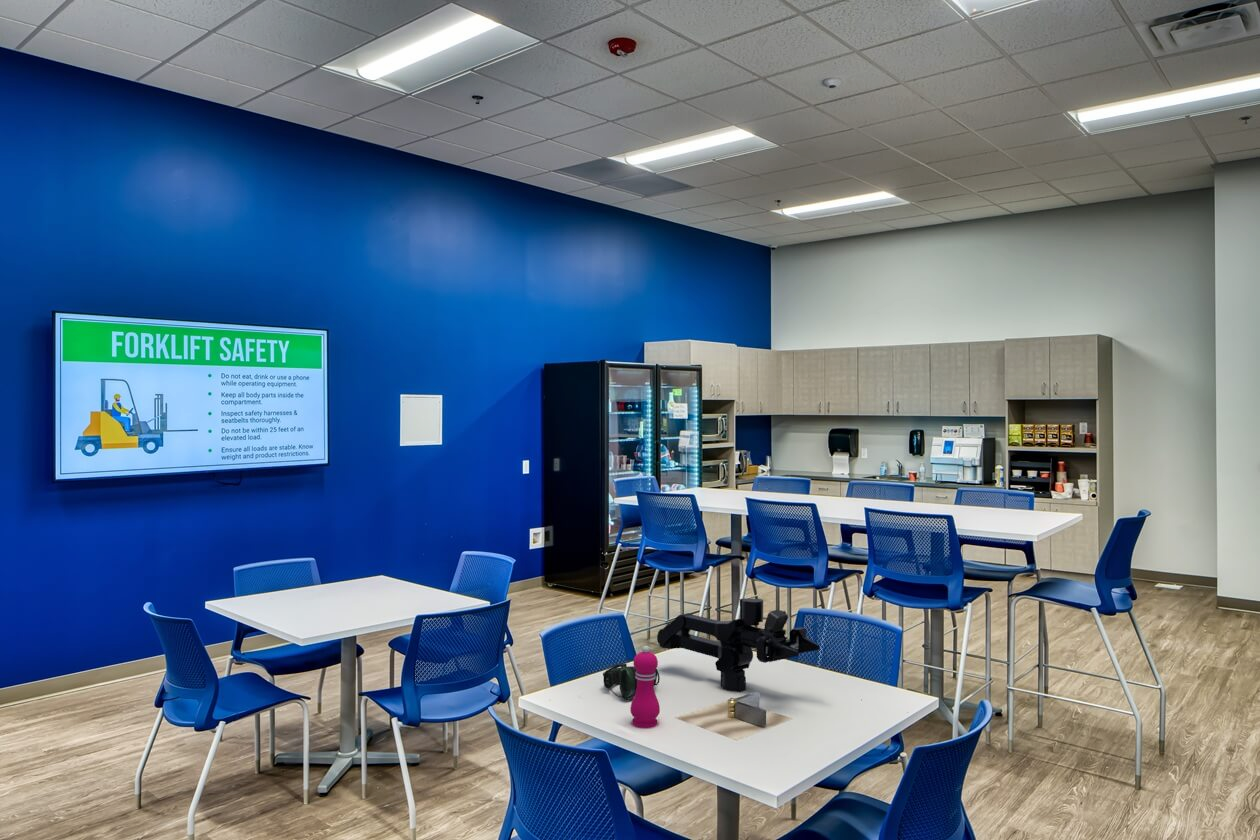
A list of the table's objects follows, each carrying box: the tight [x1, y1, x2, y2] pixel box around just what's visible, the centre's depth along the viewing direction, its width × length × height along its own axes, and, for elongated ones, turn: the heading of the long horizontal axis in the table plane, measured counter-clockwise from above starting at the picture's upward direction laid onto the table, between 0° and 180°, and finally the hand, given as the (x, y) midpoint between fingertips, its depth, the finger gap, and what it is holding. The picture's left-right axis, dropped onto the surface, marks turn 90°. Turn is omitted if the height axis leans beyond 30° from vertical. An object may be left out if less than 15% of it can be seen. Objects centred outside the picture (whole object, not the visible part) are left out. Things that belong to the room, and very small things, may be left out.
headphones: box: [602, 662, 661, 701], centre depth 228 cm, size 13×13×20 cm
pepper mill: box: [629, 645, 661, 729], centre depth 201 cm, size 7×7×20 cm
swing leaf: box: [728, 702, 767, 727], centre depth 203 cm, size 11×2×4 cm, turn 43°
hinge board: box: [674, 699, 794, 741], centre depth 206 cm, size 20×22×1 cm
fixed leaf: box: [727, 691, 760, 718], centre depth 210 cm, size 11×2×4 cm, turn 133°
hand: (808, 650), depth 211 cm, fingers open, 9 cm apart
